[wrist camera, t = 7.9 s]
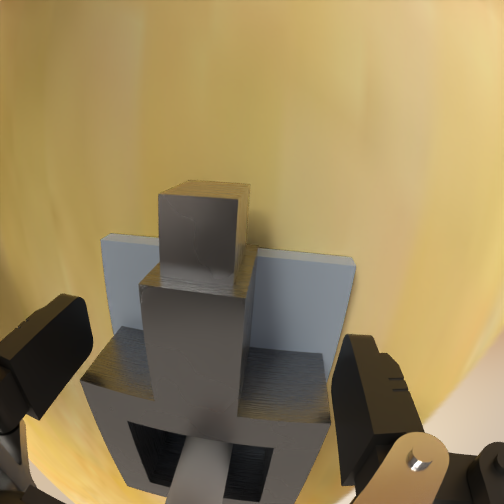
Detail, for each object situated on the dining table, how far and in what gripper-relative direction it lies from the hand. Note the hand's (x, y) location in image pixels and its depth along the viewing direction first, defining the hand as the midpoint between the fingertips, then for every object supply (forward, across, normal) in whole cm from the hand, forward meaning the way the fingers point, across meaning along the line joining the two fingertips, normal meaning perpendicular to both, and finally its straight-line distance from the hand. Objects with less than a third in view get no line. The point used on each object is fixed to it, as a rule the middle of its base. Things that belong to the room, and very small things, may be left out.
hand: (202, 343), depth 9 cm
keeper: (+3, 0, +6) cm, 7 cm away
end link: (+2, 0, +3) cm, 3 cm away
